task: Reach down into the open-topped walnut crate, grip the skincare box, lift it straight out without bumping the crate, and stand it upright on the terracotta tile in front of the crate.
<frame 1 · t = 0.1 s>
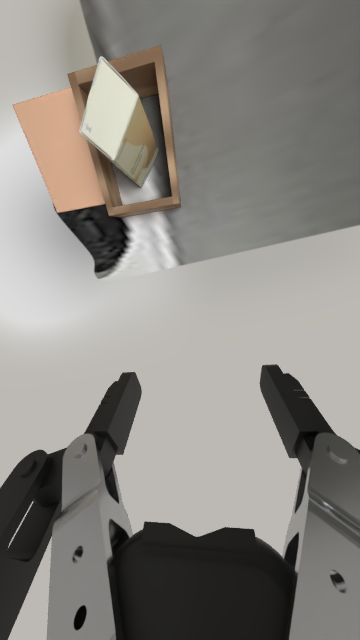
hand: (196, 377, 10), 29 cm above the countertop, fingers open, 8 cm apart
skincare box: (140, 160, 27), resting in walnut crate
walnut crate: (140, 159, 27), on the countertop
terracotta tile: (65, 160, 28), on the countertop
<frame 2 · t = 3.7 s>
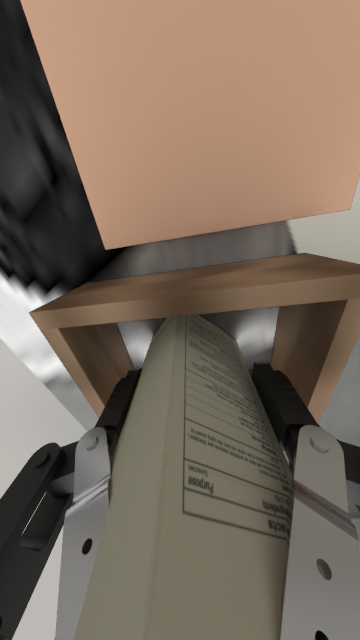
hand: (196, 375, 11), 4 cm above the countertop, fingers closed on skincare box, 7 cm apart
skincare box: (195, 338, 14), resting in walnut crate, touching gripper
walnut crate: (195, 339, 14), on the countertop
terracotta tile: (210, 111, 8), on the countertop
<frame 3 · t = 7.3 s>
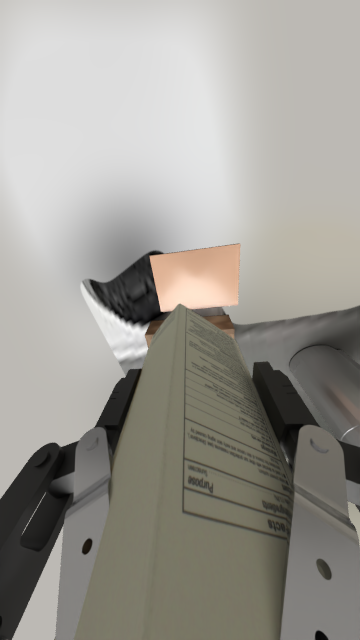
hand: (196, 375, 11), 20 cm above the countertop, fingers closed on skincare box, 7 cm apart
skincare box: (195, 338, 14), point 16 cm above the countertop, touching gripper
walnut crate: (191, 342, 34), on the countertop
terracotta tile: (196, 281, 28), on the countertop
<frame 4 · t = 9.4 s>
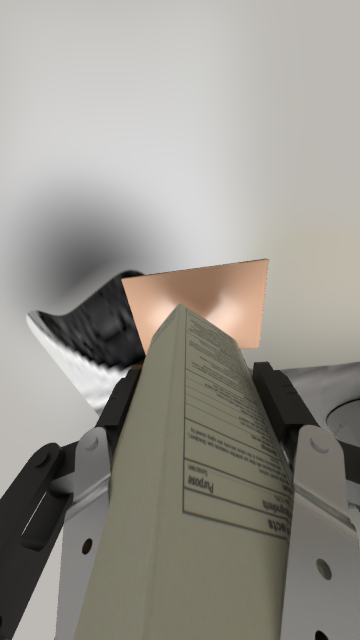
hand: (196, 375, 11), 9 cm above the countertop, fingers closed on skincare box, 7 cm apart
skincare box: (195, 338, 14), point 5 cm above the countertop, touching gripper
terracotta tile: (195, 314, 18), on the countertop
when the fingers open (6 cm above the countertop, at t = 11.1 s): skincare box drops 1 cm, resting on terracotta tile.
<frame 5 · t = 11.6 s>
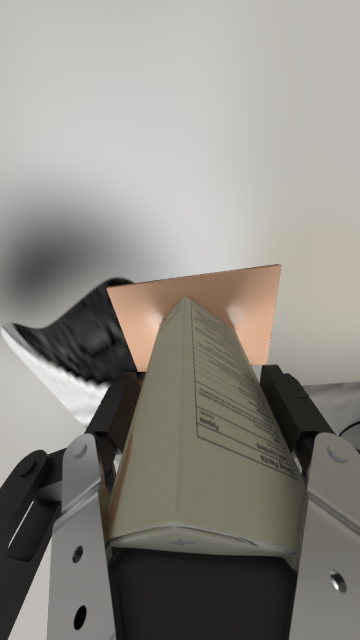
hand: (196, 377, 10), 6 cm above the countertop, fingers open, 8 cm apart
skincare box: (198, 329, 15), resting on terracotta tile, touching gripper
terracotta tile: (194, 327, 16), on the countertop
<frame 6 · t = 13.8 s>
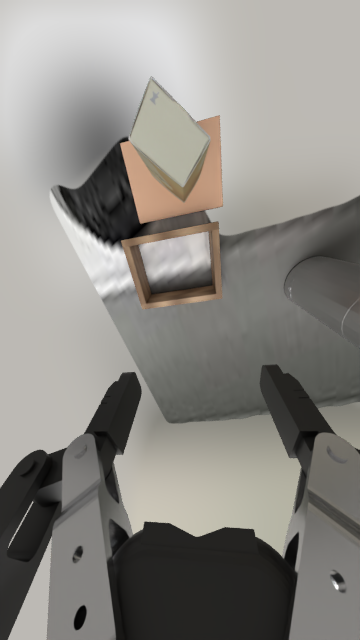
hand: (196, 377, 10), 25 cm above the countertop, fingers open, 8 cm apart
skincare box: (177, 176, 25), resting on terracotta tile
walnut crate: (177, 265, 31), on the countertop
terracotta tile: (174, 177, 25), on the countertop
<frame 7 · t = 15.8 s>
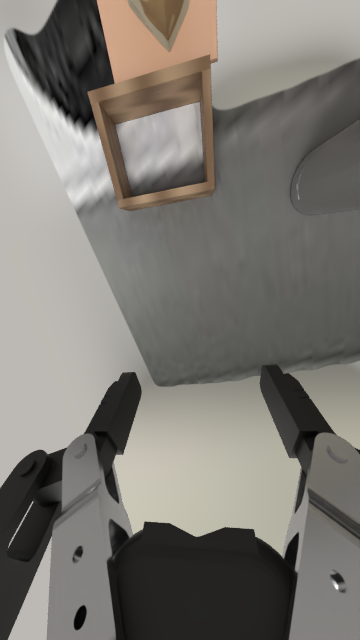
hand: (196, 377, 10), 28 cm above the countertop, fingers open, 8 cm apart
skincare box: (160, 9, 19), resting on terracotta tile
walnut crate: (162, 158, 26), on the countertop
terracotta tile: (157, 12, 20), on the countertop
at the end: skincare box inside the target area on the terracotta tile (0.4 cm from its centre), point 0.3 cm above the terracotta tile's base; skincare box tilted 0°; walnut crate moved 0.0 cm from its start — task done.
